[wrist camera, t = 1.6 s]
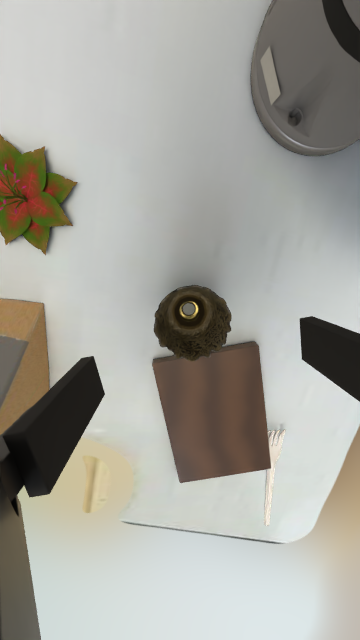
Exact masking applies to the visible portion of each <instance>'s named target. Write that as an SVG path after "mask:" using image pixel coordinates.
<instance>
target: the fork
mask: <svg viewBox="0 0 360 640" xmlns="http://www.w3.org/2000/svg"><path fill="white" fill-rule="evenodd" d="M270 431H271V430H269V431H268V435H269V433H270ZM285 431H286V430H283V431H282V432H281V434H280V435H279V437H278V443H277V445H276V440H277V436H278V434H279V432H280V430H278V431H277V432H276V433H275V435H274V437H273V434H274V432H275V430H273V431H272V432H271V434H270V436H269V440H268V441H269V450H270V460H271V469H267V482H266V498H265V514H264V524H265V526H269V520H270V510H271V501H272V491H273V481H274V471H275V464H276V462H277V460H278V458H279V456H280V454H281V448H282V441H283V436H284V433H285ZM272 437H273V445H271V441H272Z"/></svg>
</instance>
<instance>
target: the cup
mask: <svg viewBox="0 0 360 640" xmlns="http://www.w3.org/2000/svg"><path fill="white" fill-rule="evenodd" d="M186 303H191V304H193V305H194V306H195V312H194V313H193V314H192V315H186V314H184V313H183V310H182V309H183V306H184V305H185V304H186ZM155 318H156V319H155V324H154V333H155V335H156V336H157V338H158V339H159V344H160V346H161V347H167V348H168V349H169V350H170V351H172V352H174V356H175V357H176V358H178V359H181V358H182V357H183V358H184V359H186V360H188V361H193V362H194V361H197V360H198V359H200V358H201V357H202V356H204V357H205V358H209V357H210V355H211V351H214V352H217V351H219V350H220V349H221V348H222V345H223V344H225V343H226V337H227V334H226V333H228V332H230V331H231V327H230V321H231V312H230V310H229V309H228V307H227V305H226V302H225V300H224V299H223V298H221V297H219V296H218V295H217V294H216V293H215V292H212V291H211V290H210V289H209V288H206V287H202V286H198V285H192V286H185V287H180V288H178V289H176V290H175V291H173V292H171V293H170V294H168V295H167V296H166V297H165V298H164V299H163V300H162V301H161V303H160V304H159V308H158V310H157V311H156V313H155Z"/></svg>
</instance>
